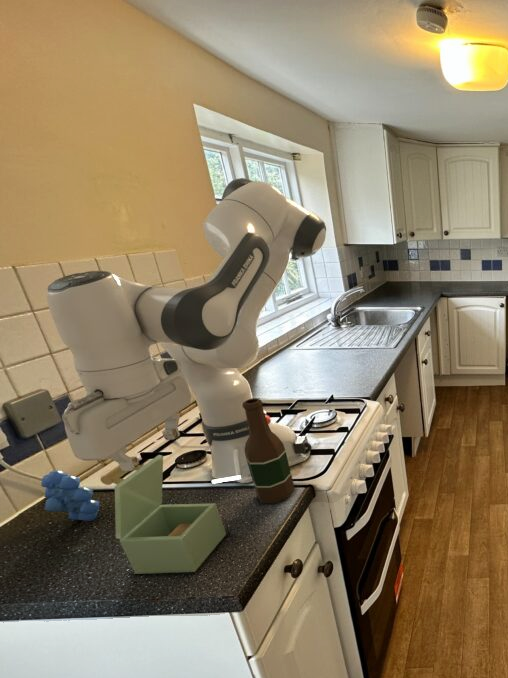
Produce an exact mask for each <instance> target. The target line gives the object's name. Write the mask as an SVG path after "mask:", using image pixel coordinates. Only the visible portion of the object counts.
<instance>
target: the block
mask: <svg viewBox="0 0 508 678" xmlns="http://www.w3.org/2000/svg"><path fill="white" fill-rule="evenodd" d="M191 524H192V523H191ZM191 524H180V525H179V526H178V527H176V528H175V529H174V530H173V531H172V532H171V533H170V534H169V535H168V536H181V535H182V534H183V533H184V532H185V531H186V530H187V528H188V527H189V526H190V525H191Z"/></svg>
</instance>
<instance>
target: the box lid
mask: <svg viewBox="0 0 508 678" xmlns="http://www.w3.org/2000/svg"><path fill="white" fill-rule="evenodd" d="M132 471H134V472H133V473H131V474H129V476H127V477H126V478H122V477H124V476H125V475H126V474H128V473H129V472H130V471H123V470H121V468H120V466H119V465H117V466H115V467H114V468H113V469H111V470H109V471H108V472H106V473H105V474H104V475H102V476H101V477H100V482H101V483H102V484H104V485H106V486H110V485H112V484H115V486H114V514H115V515H114V516H115V518H114V519H115V522H114V523H115V539H118V540H121V539H122V538H124V536H126V535H127V534H128V533H129V532H130V531H131V530H132V529H134V528H135V527H136V526H137V525H138V524H139V523H140V522H142V521H143V520H144V519H145V518H146V517H147V516H148V515H150V514H151V513H152V512H153V511H154V510H155V509H157V508H158V507H159V506H160V505H163V504H162V503H163V477H164V476H163V475H164V455H161V454H158V455H156V456H155V457H154V458H152V459H151V460H149V461H148V462H147V463H145V464H144V465H141V464H139V465H138V466H137V467H136V468H135V469H133V470H132Z"/></svg>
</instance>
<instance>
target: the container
mask: <svg viewBox="0 0 508 678" xmlns="http://www.w3.org/2000/svg"><path fill="white" fill-rule="evenodd" d="M191 523H192V524H191ZM180 524H191V525H190V526H189V527H188V528H187V530H186V531H185V532H184V533H183V534H182V535H181V536H168V535H169V534H170V533H171V532H172V531H173V530H174V529H175V528H176V527H178V526H179V525H180ZM226 535H227V532H226V529H225V526H224V523H223V519H222V517H221V514H220V512H219V508H218V506H217V503H178V504H176V503H175V504H160V505H159V506H158V507H157V508H156V509H155V510H154V511H152V512H151V513H150V514H149V515H148V516H147V517H146V518H144V519H143V520H142V521H141V522H140V523H139V524H137V525H136V526H135V527H134V528H133V529H132V530H131V531H129V532H128V533H127V534H126V535H125V536H124V537H123V538H121V539H119V543H120V545H121V547H122V549H123V551H124V554H125V556H126V558H127V560H128V562H129V564H130V566H131V568H132V570H133V572H134V574H135V575H140V574H144V575H145V574H170V573H172V574H173V573H174V574H175V573H176V574H177V573H195V572H196V571H197V570H198V569H199V568H200V567H201V565H202V564H203V563H204V562H205V561H206V559H207V558H208V557H210V554H211V553H212V552H213V551H214V550H215V549H216V548H217V546H218V545H219V543H221V542H222V540H223V539H224V538H225V537H226Z"/></svg>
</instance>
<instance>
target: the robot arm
mask: <svg viewBox="0 0 508 678" xmlns="http://www.w3.org/2000/svg"><path fill="white" fill-rule="evenodd" d="M202 230H203V234H204V237H205V240H206V242H207V243H208V245H209V247H210V248H211V249H212V250H213V251H214V252H215V253H216V254H217V255H218V256H219V257H220V258H222V261H221V262H220V263H219V265H218V266H217V267H216V269H215V270H214V272H213V273H212V274H211V276H210V277H209V279H208V280H206V281H205V282H204V283H201V284H197V285H194V286H188V287H174V286H162V285H161V286H160V285H153V284H147V283H141V282H137V281H132V280H128V279H126V278H122V277H120V276H117V275H115V274H113V273H112V272H110V271H106V270H90V271H85V272H76V273H71V274H68V275H64V276H62V277H60V278H57V279H55V280H54V281H53V282H51V283H50V284H49V285H48V286H47V289H46V301H47V305H48V306H47V307H48V309H49V312H50V315H51V319H52V320H53V323H54V326H55V328H56V330H57V332H58V335H59V337H60V339H61V341H62V342H63V344H64V345H65V346H66V347H67V348H68V349H69V351H70V352H71V354H72V356H73V366H74V369H75V371H76V374H77V376H78V377H79V380H80V382H81V384H82V386H83V388H84V390H85V392H86V394H85V395H84V396H82V397H80V398H78V399H74V400H72V401H71V402H69V403H68V404H67V408H66V409H64V412H63V413H62V415H61V420H62V422H63V423H64V431H65V434H66V437H67V440H68V443H69V447H70V449H71V452H72V454H73V456H74V457H75V458H76V459H78V460H81V461H86V462H87V461H90V462H91V461H92V462H93V461H104V460H107V459H109V460H112V461H114V462H115V463H117V465H118V466H120V468H121V470H123V471H129V472H131V471H132V472H133V471H134V470H133V469H135V468H136V467H137V466H138V465H140V462H139V459H138V457H137V456H128V455H127V453H128V450H127V448H126V447H127V446H128V445H129V444H131V443H133V442H134V441H136V440H137V439H139V438H140V437H142V436H143V435H145V434H147V433H148V432H150V431H151V430H152V429H154V428H156V427H157V426H159V425H160V424H161V423H163V422H164V429H163V430H162V431H161V433H162V435H163V438H164V439H165V440H166V441H174V440H175V439H177V438H178V437H180V435H181V433H180V430H179V422H180V414H179V412H180V411H182V410H183V409H185V408H186V407H188V406H189V405H190V404H191V402H192V397H193V396H194V399H195V402H196V404H197V407H198V411H199V414H200V416H201V419H202V420H201V421H202V422H201V425H202V427H201V428H202V432H203V436H204V438H205V441H206V442H207V444H208V446H209V449H210V454H211V456H210V457H211V476H212V478H214V479H212V480H211V483H212V484H219V483H223V482H236V483H240V484H248V483H251V482H252V483H253V480H252V477H251V473H250V470H249V467H248V463H247V460H246V456H245V444H246V442H247V440H248V438H249V427H248V422H247V417H246V412H245V409H244V408H243V407H242V406H243V402H245V401H246V400H249V399H253V398H254V397H253V393H252V390H251V386H250V383H249V381H248V380H247V379H246V378H245V376H243V374H241V372H240V371H239V370H238V369H242V368H245V367H247V366H250V365H251V364H252V363H253V362H254V361H255V360H256V359H257V357H258V355H259V351H260V342H259V339H258V336H257V329H258V324H259V322H260V321H259V320H260V318H261V315H262V313H263V311H264V309H265V307H266V305H267V304H268V302H269V301H270V300H271V298H272V296H273V294H274V293H275V290H276V289H277V288H278V286H279V284H280V283H281V281H282V279H283V277H284V275H285V273H286V271H287V269H288V266H289V263H290V260H292V261H298V260H299V259H300V258H301V259H302V258H309V257H311V256H314V255H315V254H316V253H318V251H319V250H321V248H322V247H323V245H324V243H325V240H326V235H327V234H326V233H327V226H326V222H325V221H324V220H323V219H321V217H320V216H318V215H317V214H316V213H314V212H310V211H309V210H308V209H307V208H305V207H304V206H302V205H301V204H299V203H297V202H296V201H294V200H292V199H291V198H289V197H287V196H285V195H284V194H283V192H282V191H280V189H278V188H277V187H276V186H274V185H273V184H271V183H269V182H266V181H261V180H251V179H248V178H244V177H241V178H235V179H233V180H231V181H230V182H229V183H227V185H226V187H225V189H224V191H223V193H222V196H221V201H219V202H218V203H217V204H216V205H215V206H214V207H213V208H212V209H211V210H210V211H209V212H208V214H207V215H206V217H205V218H204V221H203V223H202ZM156 344H160V346H161V347H162V349H164V350H165V351H166V353H167V354H168V355H169V356H170V358H169V357H168V358H167V357H165V358H164V357H163V358H160V357H159V358H157V357H153V356H152V354H151V351H150V347H151V346H153V345H156ZM192 394H193V395H192ZM263 411H264V414H265V417H266V419H267V422H268V425H269V428H270V430H271V431H272V432H273V433H275V434H276V435H277V436H278V437H279V439H280V440H281V441H282V443H283V445H284V448H285V451H286V455H287V459H288V463H289V467H290V468H291V467H292V466H295V465H297V464H300V463H302V462H306V461H307V460H308V459H309V457H310V455H311V450H312V445H311V444H310V443H309V441H308V437H307V435H296V433H295V431H294V430H293V429H292V428H291V427H289V426H288V425H286V424H282V423H279V422H275V421H272V419H271V416H270V415H268V414H267V411H265V409H264V408H263Z"/></svg>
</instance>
